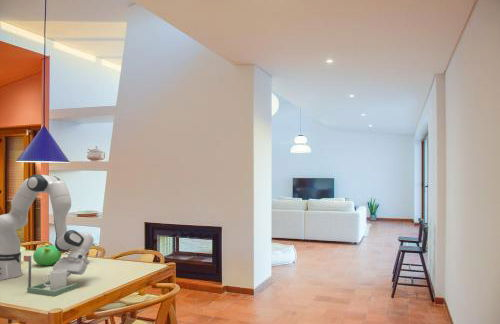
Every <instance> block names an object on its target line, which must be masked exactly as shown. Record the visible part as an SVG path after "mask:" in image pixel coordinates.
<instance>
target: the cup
mask: <svg viewBox="0 0 500 324" xmlns="http://www.w3.org/2000/svg"><path fill="white" fill-rule="evenodd" d="M46 277H49V281H50V285H47V284H45V282H46ZM67 278H68V277H67V270H65V269H57V270H51V271H50V272H49V273H46V274H44V275H43V278H42V283H43V285H44V286H45V288H49V290H57V289H60V288H63V287H66V286H67V280H68V279H67Z"/></svg>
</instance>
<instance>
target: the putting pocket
mask: <svg viewBox="0 0 500 324" xmlns="http://www.w3.org/2000/svg"><path fill="white" fill-rule="evenodd" d="M23 262H25V263H26V262H27V263H28V274H27V275H28V277H27V278H28V279H27V281H28V282H27V287H26V292H27V293H29V294H35V295H42V296H47V297H49V296H50V297H57V296H59V295H62V294H64V293H65V294H66V293H68V292H70V291H73V290H76V289H78V288H79V287H80V283H79V282H75V283H73V284H69V285H66V287H63V288H60V289H57V290H50V289H47V288H46V287H45V286H44V285H43V282H41V283H38V284H35V285H31V284H32V255H23ZM45 284H47V285H50V280H48V281H45Z"/></svg>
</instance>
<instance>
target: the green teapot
mask: <svg viewBox="0 0 500 324" xmlns="http://www.w3.org/2000/svg"><path fill="white" fill-rule="evenodd" d="M61 258H62V252H61V251H59V250H57V248H56V247H55V244H49V243H47V242H46V243H44V245H41V246H39V247H38V248H37V249H35V251H33V256H32V260H34V262H35V263H36V264H37V265H40V266H51V265H55V264H56V263H57V262H58V260H60V259H61Z"/></svg>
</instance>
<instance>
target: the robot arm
mask: <svg viewBox="0 0 500 324" xmlns="http://www.w3.org/2000/svg"><path fill="white" fill-rule="evenodd" d="M39 193H43V194H48V195H49V199H50V200H49V201H50V204H51V208H52V214H53V222H54V231H55V240H54V245H55V247H56V248H57V250H59V251H61V253H66V252H69V251H70V250H71V251H70V252H69V254H68V256H67V257H66V256H65V257H64V256H63V257H61V258H60V259H59V260H58V261H57V262H56V263H54V264H53V267H52V269H53V270H57V269H65V270H67V278H69V277H70V276H71V275H83V274H85V271H87V268H88V265H89V264H90V260H89V259H88V258H86V257H85V256H86V254H87V253H88V252H89V253H90V250H91V248H92V247H93V244H94V241H95V239H94V237H93V236H92V234H90V233H88V232H78V231H77V230H74V229H69V230H68V228H67V224H66V222H67V215H68V213H69V212H70V210H71V209H72V199H71V195H70V191H69V189H68V186H67V184H66V182H64V181H63V180H61V179H60V178H59V177H57V176H52V175H49V174H40V173H39V174H38V173H36V174H32V175H30V176H29V177H28V178H26V179H24V180H23V182H22V183H21V184H20V186H19V187H18V188H17V191H16V193H15V194H14V196H13V198H12V199H11V201H10V204H11V209H10V211H9V212H8V213H5V214H0V280H3V281H4V280H9V279H13V278H17V277H21V276H23V274H24V273H23V271H22V264H21V261H22V252H21V239H20V238H19V237H18V233H17V230H20V229H22V228H24V227H26V226H27V224H28V222H29V219H28V214H29V211H30V208H31V206H32V204H33V202H35V200H36V197H37V195H38V194H39Z"/></svg>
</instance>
